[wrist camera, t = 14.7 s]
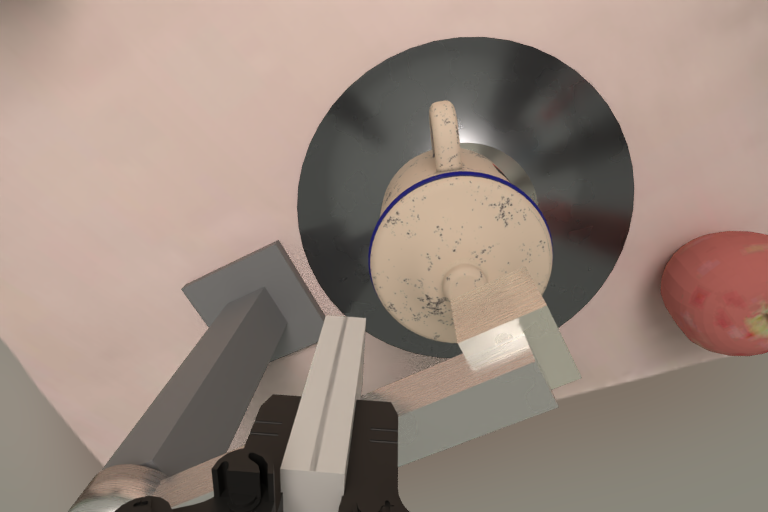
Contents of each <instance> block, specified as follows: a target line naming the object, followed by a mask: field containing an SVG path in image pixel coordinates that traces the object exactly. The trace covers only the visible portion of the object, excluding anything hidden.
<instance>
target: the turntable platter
mask: <svg viewBox="0 0 768 512" xmlns="http://www.w3.org/2000/svg"><path fill="white" fill-rule="evenodd" d="M439 101H450V102H451V103H452V104H453V106H454V108H455V111H456V116H457V123H458V130H459V139H460V148H462V149H467V150H470V151H474V152H476V153H478V154H481V155H483V156H484V157H486V158H488V159H489V160H490V161H492V162H493V163H494V164H495V165H496V166H497V167H498V168H499V169H500V170H501V171H502V172H503V173H504V175H505V176H506V177H507V178H508V180H509V181H510V182H511V183H512V184H513V185H515V186H516V187H518V188H519V189H521V190H522V191H523V192H524V193H525V194H527V195H528V196H529V197H530V198H531V199H532V200H533V202H534V203H535V204H536V205H537V206H538V208H539V209H540V211H541V212H542V214H543V216H544V217H545V219H546V222H547V224H548V226H549V230H550V233H551V237H552V242H553V264H552V270H551V274H550V278H549V282H548V284H547V287H546V289H545V291H544V293H543V295H542V297H543V299H544V301H545V303H546V304H547V306H548V308H549V310H550V313H551V315H552V317H553V319H554V321H555V323H556V325H557V327H560V326H561V325H562V324H564V323H565V322H567V321H568V320H569V319H571V318H572V317H573V316H574V315H575V314H576V313H577V312H579V311H580V310H581V309H582V308H583V307H584V306H585V305H586V304H587V303H588V302H589V301H590V300H591V299H592V297H593V296H594V295H595V294H596V293H597V291H598V290H599V289H600V288H601V287H602V285H603V284H604V282H605V281H606V279H607V278H608V276H609V274H610V273H611V271H612V270H613V268H614V266H615V264H616V262H617V260H618V258H619V256H620V254H621V252H622V249H623V246H624V243H625V240H626V238H627V235H628V232H629V227H630V222H631V217H632V212H633V201H634V179H633V168H632V163H631V158H630V154H629V150H628V145H627V143H626V140H625V138H624V135H623V133H622V130H621V128H620V125H619V123H618V121H617V120H616V118H615V116H614V115H613V113H612V111H611V109H610V108H609V106H608V104H607V103H606V102H605V101H604V99H603V98H602V97H601V96H600V95H599V93H598V92H597V91H596V90H595V88H594V87H593V86H592V85H591V84H590V83H589V82H587V81H586V80H585V79H584V78H583V77H582V76H581V75H580V74H579V73H577V72H576V71H575V70H574V69H572V68H571V67H569V66H568V65H566V64H564V63H563V62H561V61H560V60H558V59H557V58H555V57H553V56H551V55H549V54H547V53H544V52H542V51H540V50H538V49H536V48H533V47H530V46H527V45H523V44H520V43H516V42H513V41H509V40H502V39H495V38H487V37H459V38H452V39H446V40H439V41H433V42H430V43H427V44H423V45H420V46H417V47H413V48H410V49H408V50H406V51H404V52H401V53H399V54H397V55H395V56H393V57H391V58H388V59H387V60H385V61H383V62H382V63H380V64H379V65H377V66H376V67H374V68H372V69H371V70H369V71H368V72H366V73H365V74H364V75H363V76H362V77H360V78H359V79H358V80H357V81H356V82H355V83H353V84H352V85H351V86H350V87H349V88H348V89H347V90H346V91H345V92H344V93H343V94H342V95H341V96H340V98H339V99H338V100H337V101H336V102H335V103H334V104H333V105H332V107H331V108H330V110H329V111H328V113H327V114H326V116H325V117H324V119H323V120H322V122H321V123H320V124H319V126H318V128H317V131H316V133H315V135H314V137H313V139H312V141H311V143H310V145H309V147H308V150H307V153H306V156H305V159H304V162H303V165H302V170H301V175H300V181H299V186H298V203H297V211H298V223H299V231H300V235H301V240H302V244H303V248H304V251H305V254H306V257H307V259H308V262H309V265H310V267H311V269H312V271H313V273H314V275H315V277H316V279H317V281H318V282H319V284H320V285H321V287H322V288H323V290H324V291H325V293H326V294H327V296H328V297H329V298H330V300H331V301H332V302H333V303H334V304H335V305H336V306H337V307H338V308H339V310H340V311H341V312H342V313H343V314H344V315H346V316H347V317H358V318H366V328H365V331H366V332H368V333H369V334H371V335H372V336H374V337H376V338H378V339H380V340H382V341H384V342H386V343H388V344H390V345H392V346H395V347H398V348H400V349H403V350H406V351H409V352H413V353H417V354H421V355H426V356H433V357H440V358H453V357H455V356H458V355H460V354H462V353H463V352H462V351H461V349H460V347H459V345H458V343H447V342H440V341H435V340H432V339H428V338H425V337H423V336H420V335H418V334H416V333H414V332H412V331H410V330H409V329H407V328H406V327H404V326H403V325H402V324H400V323H399V322H398V321H397V320H396V319H394V318H393V317H392V316H391V314H390V313H389V312H388V311H387V310H386V308H385V307H384V306H383V304H382V303H381V301H380V300H379V298H378V296H377V294H376V292H375V290H374V288H373V285H372V282H371V278H370V274H369V266H368V253H369V246H370V241H371V237H372V234H373V231H374V229H375V226H376V224H377V222H378V220H379V219H380V214H381V208H382V203H383V198H384V195H385V192H386V189H387V187H388V185H389V183H390V181H391V180H392V178H393V177H394V175H395V174H396V173H397V172H398V171H399V169H400V168H401V167H403V166H404V165H405V164H406V163H407V162H408V161H410V160H411V159H413V158H414V157H416V156H418V155H420V154H422V153H425V152H427V151H430V150H432V143H431V133H430V121H429V109H430V107H431V105H432V104H433V103H435V102H439Z"/></svg>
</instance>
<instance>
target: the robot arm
mask: <svg viewBox="0 0 768 512" xmlns="http://www.w3.org/2000/svg"><path fill="white" fill-rule="evenodd" d="M365 328H366V318H358V317H345V316H331V315H326V317H325V320H324V324H323V327H322V330H321V334H320V337H319V340H318V344H317V347H316V350H315V354H314V357H313V360H312V364H311V367H310V371H309V374H308V377H307V381H306V384H305V387H304V391H303V394H302V397H300V396H287V395H272V396H271V397H270V398H269V399H268V400H267V401H266V402H265V403H264V404H263V405H262V406H261V407H260V410H259V412H258V414H257V417H256V419H255V423H254V424H253V427H252V429H251V432H250V435H249V437H248V439H247V441H246V444H245V446H244V448H243V449H238V450H235V451H232V452H229V453H227V454H226V455H224V456H223V457H221V458H220V459H219V460H218V461H217V462H216V463H215V465H214V466H213V467H212V469H211V471H212V481H213V491H214V497H212V498H210V499H208V500H206V501H204V502H201V503H197V504H194V505H189V506H184V507H179V508H175V509H172V508H171V506H170V504H169V502H167V501H166V500H164V499H163V498H161V497H156V496H145V497H140V498H135V499H133V500H131V501H129V502H127V503H125V504H123V505H121V506H120V507H119V508H118V509H117V510H115V511H114V512H409V511H408V510H407V509H406V508H405V507H404V505H403V504H402V502H401V500H400V498H399V495H398V414H397V412H396V410H395V408H394V406H393V405H392V403H391V402H384V401H370V400H361V392H362V384H363V365H364V347H365Z"/></svg>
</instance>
